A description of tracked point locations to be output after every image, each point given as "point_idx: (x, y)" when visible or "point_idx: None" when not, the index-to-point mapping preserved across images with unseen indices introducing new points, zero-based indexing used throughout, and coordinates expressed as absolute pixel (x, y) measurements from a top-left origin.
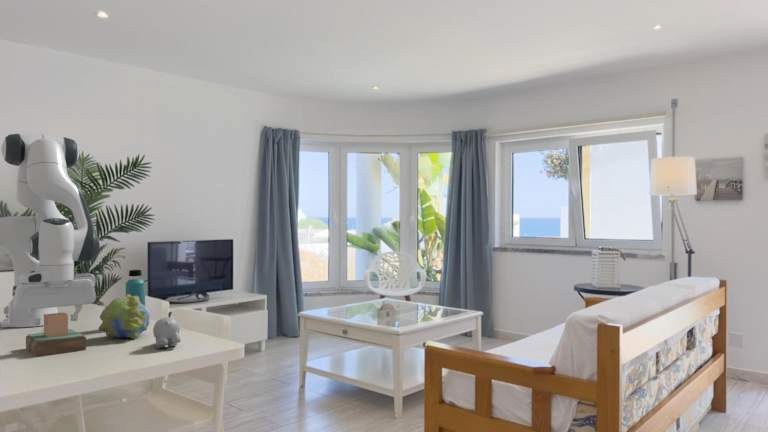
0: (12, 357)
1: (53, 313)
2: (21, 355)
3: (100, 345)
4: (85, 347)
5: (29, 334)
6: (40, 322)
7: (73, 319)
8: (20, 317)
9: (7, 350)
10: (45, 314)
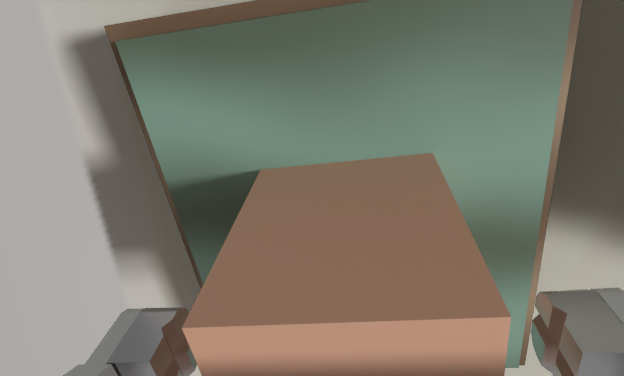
0: (137, 252)
1: (328, 346)
2: (172, 233)
3: (620, 236)
4: None
5: (128, 45)
6: (194, 368)
7: (553, 358)
8: None
9: (44, 8)
10: (210, 368)
